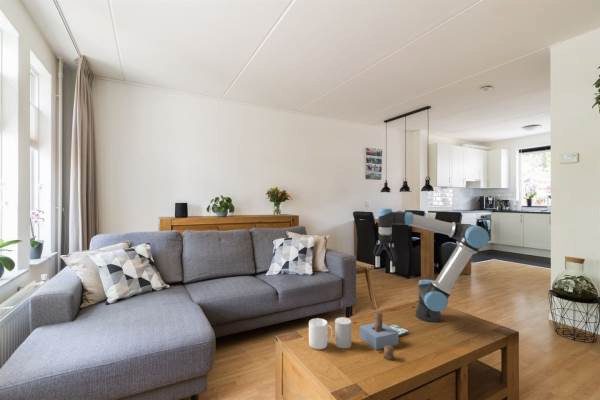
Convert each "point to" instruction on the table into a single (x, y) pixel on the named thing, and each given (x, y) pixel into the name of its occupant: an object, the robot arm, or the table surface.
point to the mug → (319, 333)
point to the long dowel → (378, 322)
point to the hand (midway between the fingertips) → (384, 269)
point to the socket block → (379, 336)
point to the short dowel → (388, 352)
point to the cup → (343, 332)
